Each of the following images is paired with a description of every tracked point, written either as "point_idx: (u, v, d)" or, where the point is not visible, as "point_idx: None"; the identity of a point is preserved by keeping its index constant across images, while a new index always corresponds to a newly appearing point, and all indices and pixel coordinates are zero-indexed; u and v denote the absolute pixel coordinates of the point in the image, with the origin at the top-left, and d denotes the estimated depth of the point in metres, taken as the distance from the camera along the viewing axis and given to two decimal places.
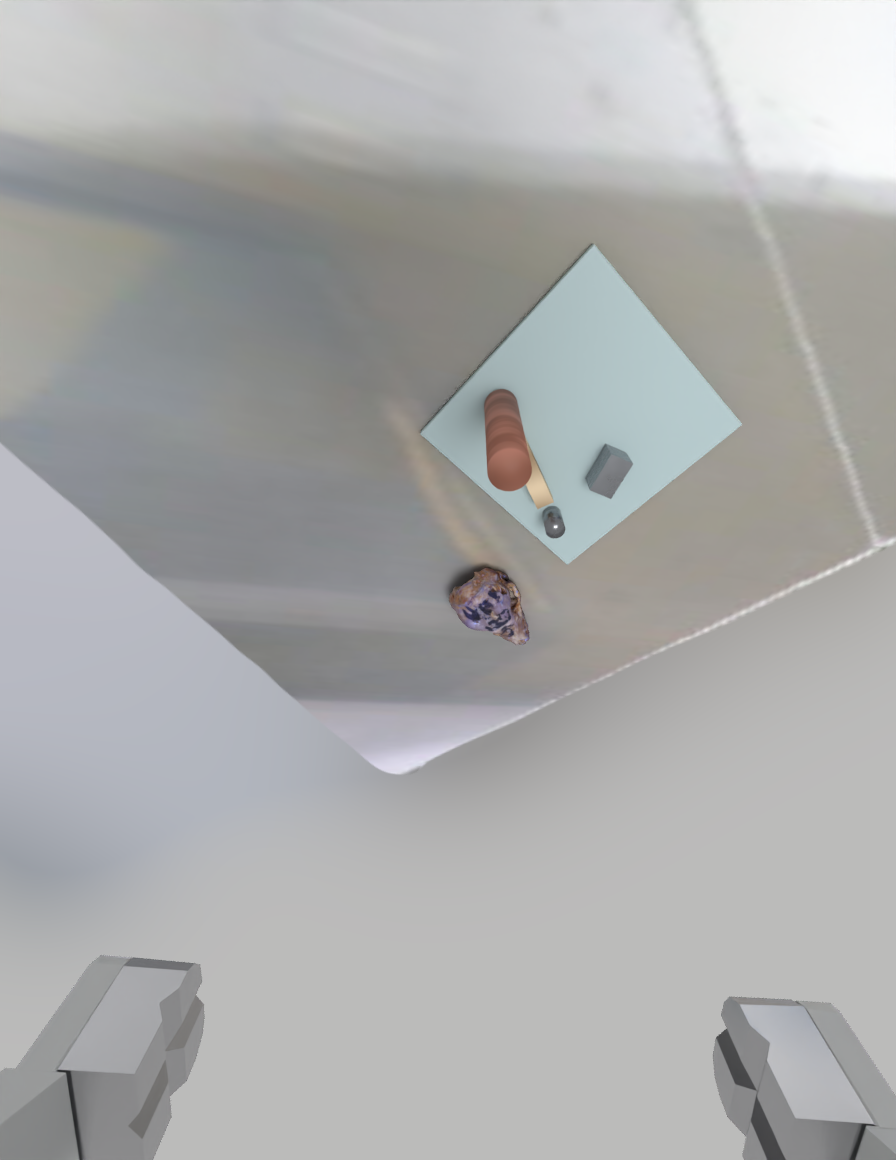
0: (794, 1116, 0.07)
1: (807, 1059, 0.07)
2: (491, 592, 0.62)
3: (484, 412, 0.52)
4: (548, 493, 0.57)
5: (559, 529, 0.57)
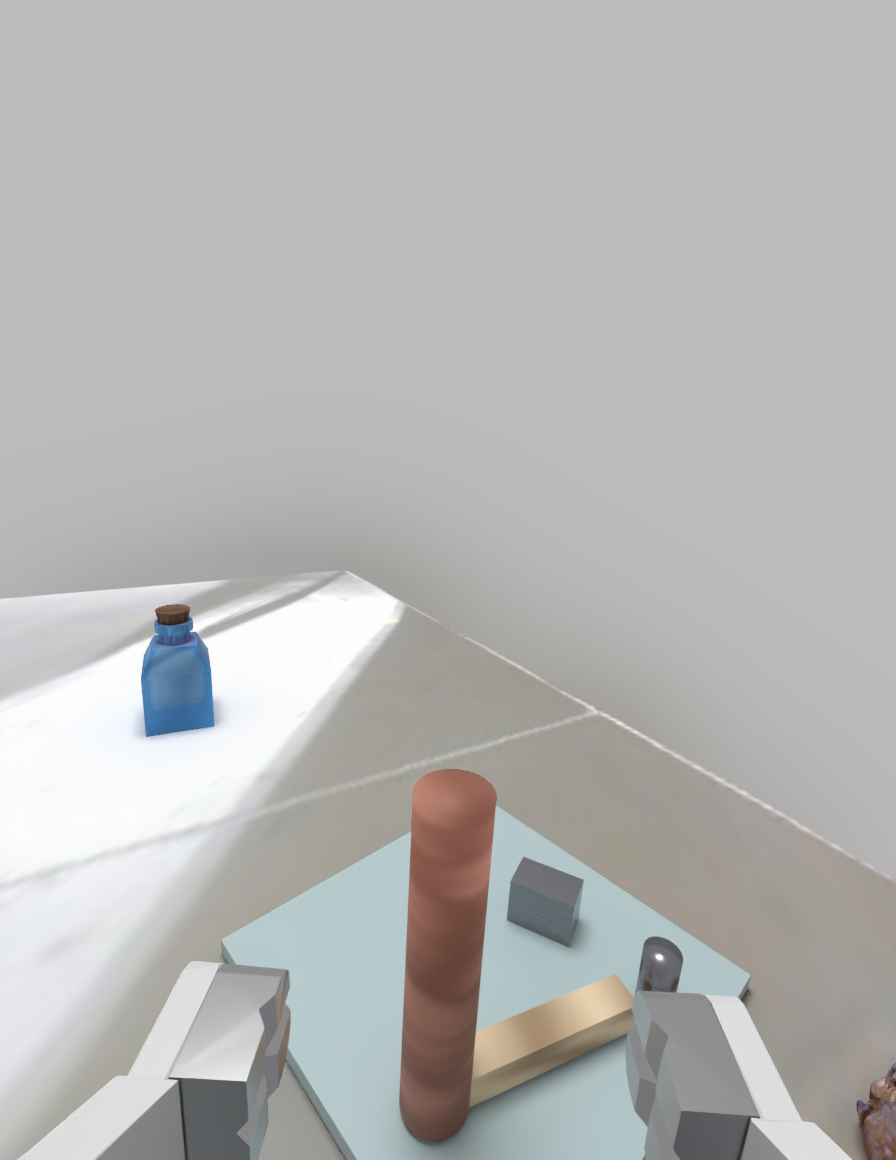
0: (680, 1108, 0.07)
1: (703, 1052, 0.07)
2: None
3: (433, 1106, 0.24)
4: (599, 983, 0.30)
5: (659, 945, 0.30)
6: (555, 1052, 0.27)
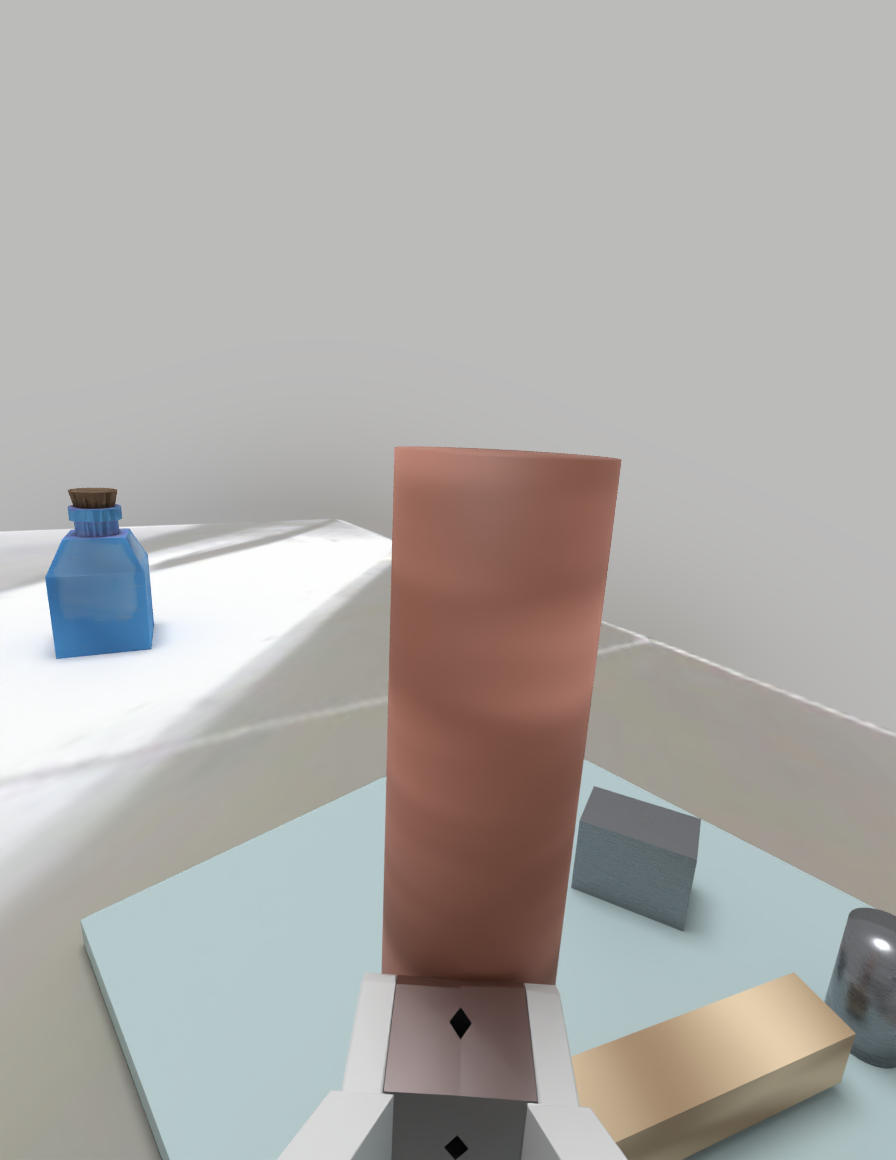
0: (460, 1093, 0.07)
1: (500, 1039, 0.07)
2: None
3: None
4: (768, 987, 0.16)
5: (879, 924, 0.16)
6: (700, 1123, 0.13)
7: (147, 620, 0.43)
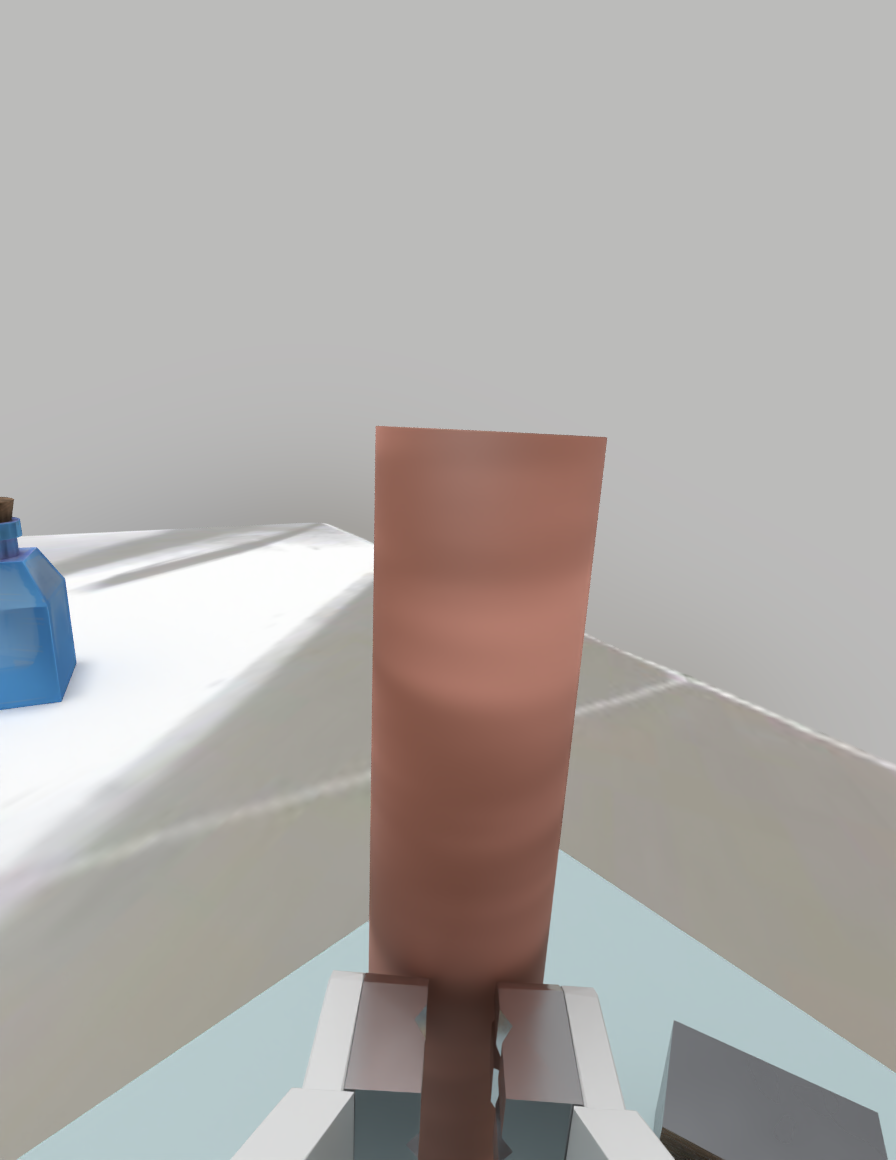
0: (506, 1096, 0.07)
1: (542, 1041, 0.07)
2: None
3: None
4: None
5: None
6: None
7: (54, 666, 0.34)
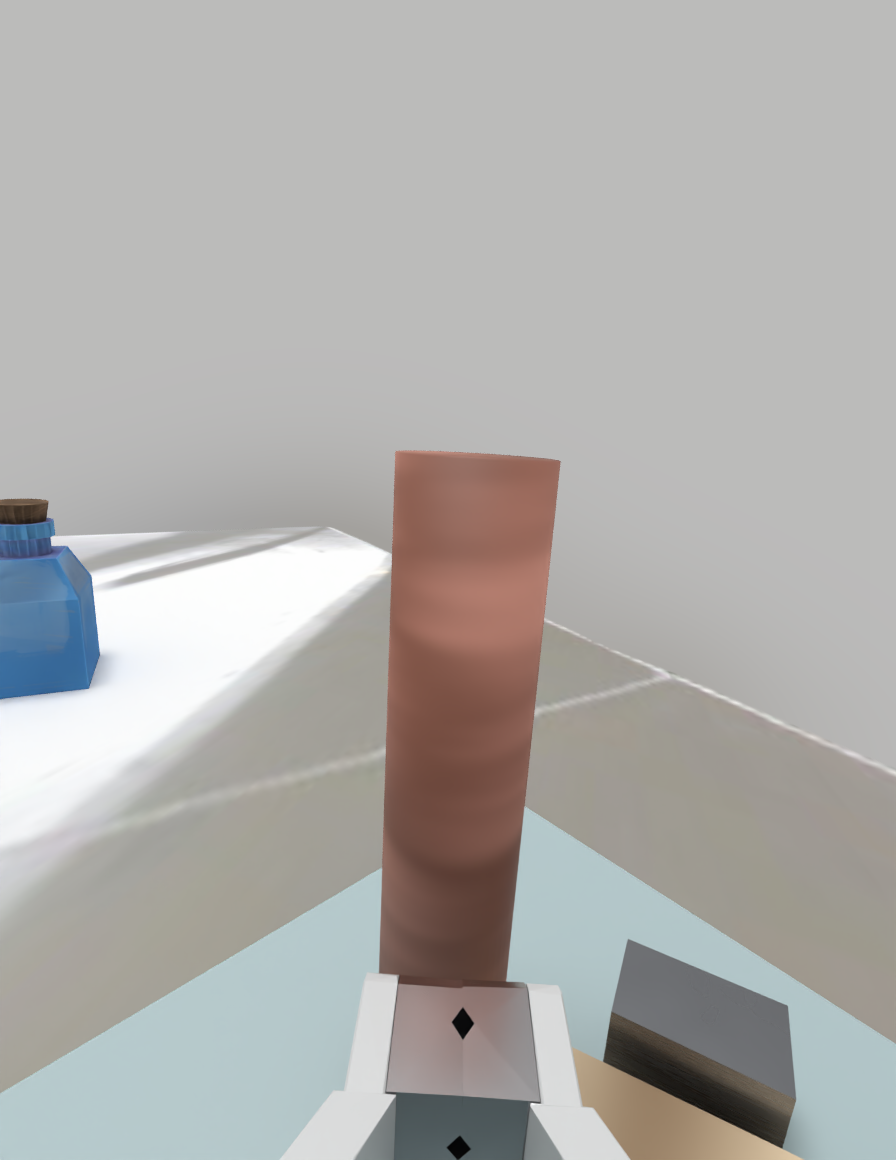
0: (463, 1093, 0.07)
1: (503, 1039, 0.07)
2: None
3: None
4: None
5: None
6: None
7: (83, 655, 0.37)
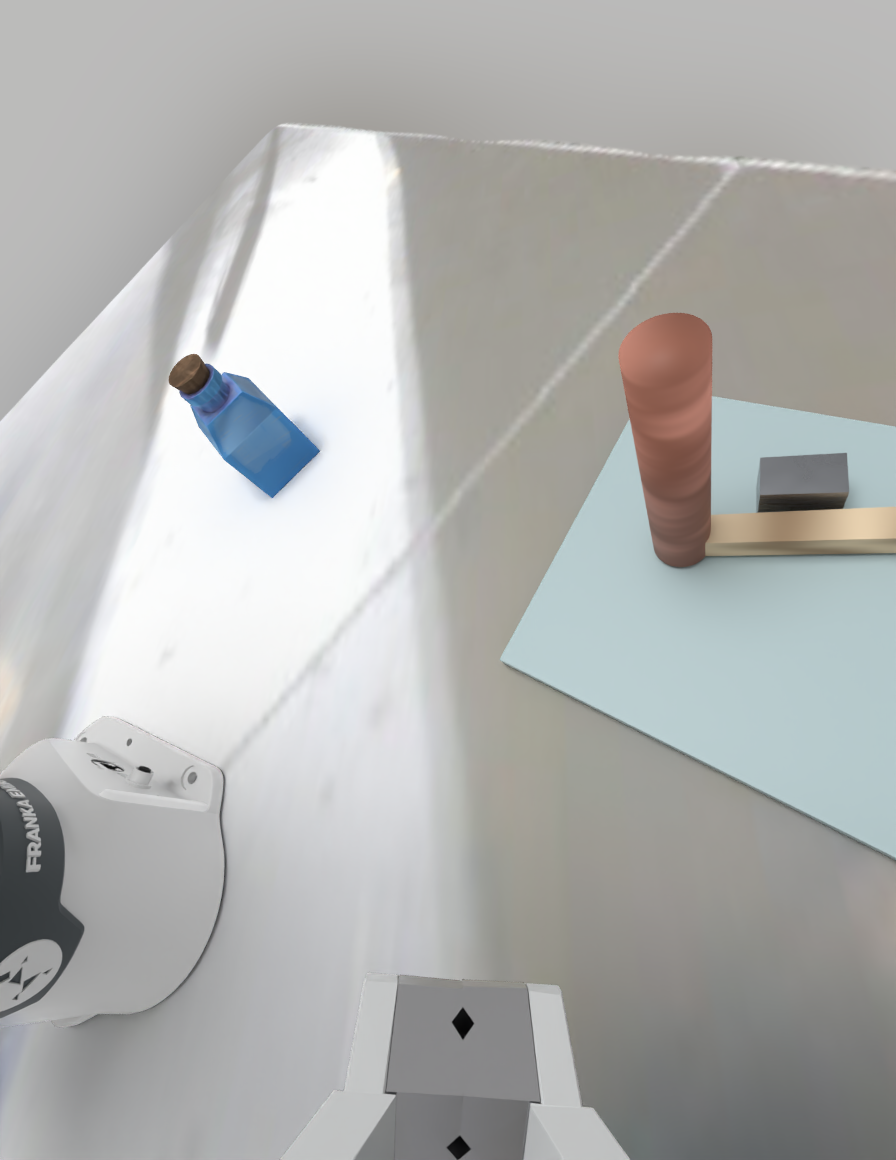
0: (462, 1093, 0.07)
1: (502, 1039, 0.07)
2: None
3: (665, 549, 0.32)
4: (884, 509, 0.29)
5: None
6: (797, 546, 0.30)
7: (304, 436, 0.50)
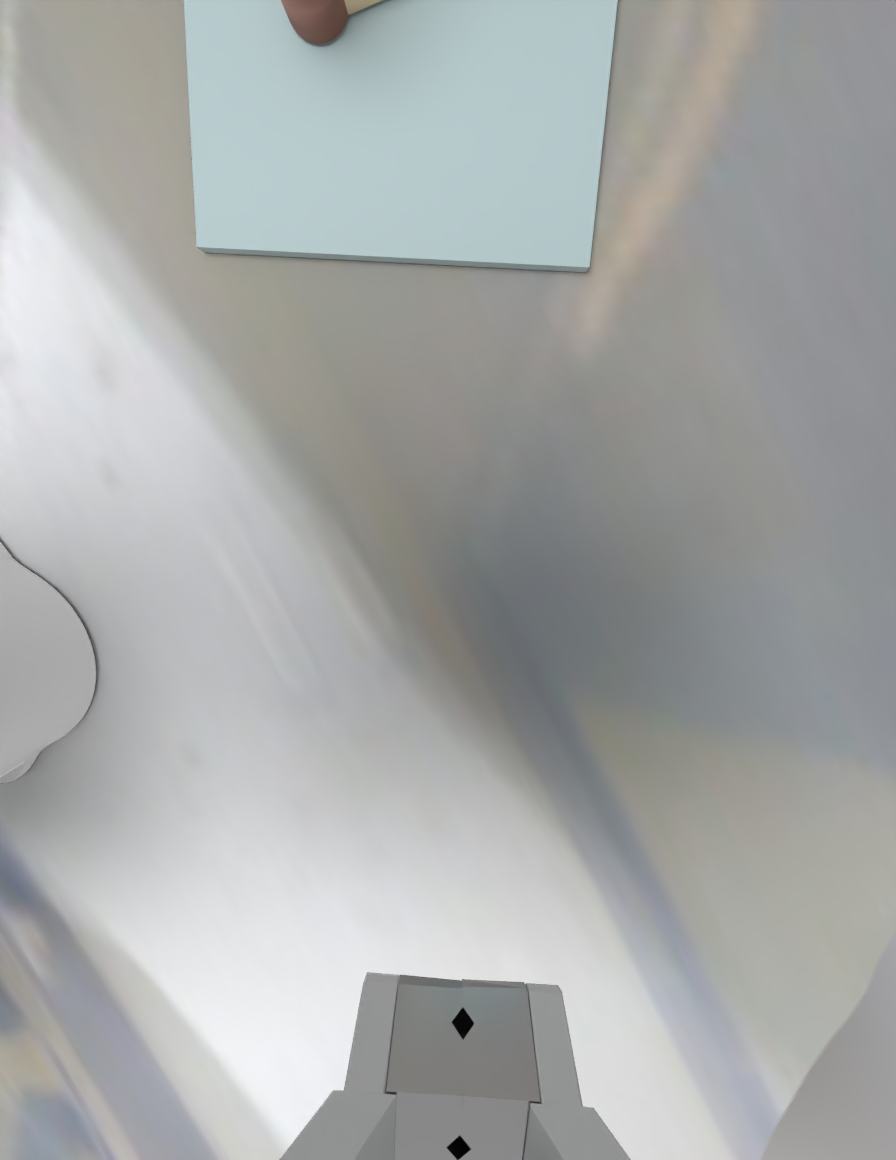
0: (462, 1093, 0.07)
1: (503, 1039, 0.07)
2: None
3: (304, 14, 0.27)
4: None
5: None
6: None
7: None
